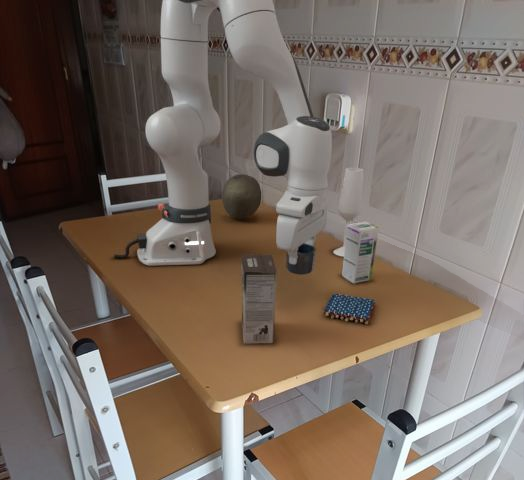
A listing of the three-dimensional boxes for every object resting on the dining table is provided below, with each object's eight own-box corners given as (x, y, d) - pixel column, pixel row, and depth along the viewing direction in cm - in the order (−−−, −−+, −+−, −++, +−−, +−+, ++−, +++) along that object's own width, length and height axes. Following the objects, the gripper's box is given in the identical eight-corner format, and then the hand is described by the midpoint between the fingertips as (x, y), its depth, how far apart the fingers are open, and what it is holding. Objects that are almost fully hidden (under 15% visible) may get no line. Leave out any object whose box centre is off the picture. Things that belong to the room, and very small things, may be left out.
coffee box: (240, 323, 109) (241, 253, 100) (269, 322, 109) (272, 253, 101) (242, 344, 101) (243, 271, 92) (274, 343, 102) (277, 271, 93)
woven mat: (369, 326, 109) (370, 318, 108) (322, 317, 112) (323, 309, 111) (375, 306, 118) (376, 298, 116) (332, 299, 120) (332, 291, 119)
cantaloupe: (213, 218, 173) (212, 174, 165) (243, 211, 181) (244, 168, 173) (239, 228, 164) (239, 182, 156) (270, 220, 172) (271, 176, 164)
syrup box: (353, 284, 128) (361, 230, 120) (340, 275, 133) (347, 223, 125) (371, 280, 130) (379, 227, 123) (357, 272, 135) (365, 220, 127)
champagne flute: (344, 258, 144) (354, 173, 131) (328, 251, 148) (337, 168, 136) (360, 253, 147) (372, 170, 134) (344, 247, 152) (354, 165, 139)
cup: (291, 276, 114) (293, 254, 111) (281, 265, 119) (282, 244, 116) (318, 273, 116) (320, 252, 113) (306, 263, 121) (308, 242, 118)
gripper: (312, 186, 118) (306, 242, 125) (272, 206, 102) (269, 268, 110) (336, 191, 115) (329, 247, 123) (300, 212, 100) (294, 275, 107)
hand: (300, 257), depth 116 cm, fingers closed on cup, 7 cm apart
